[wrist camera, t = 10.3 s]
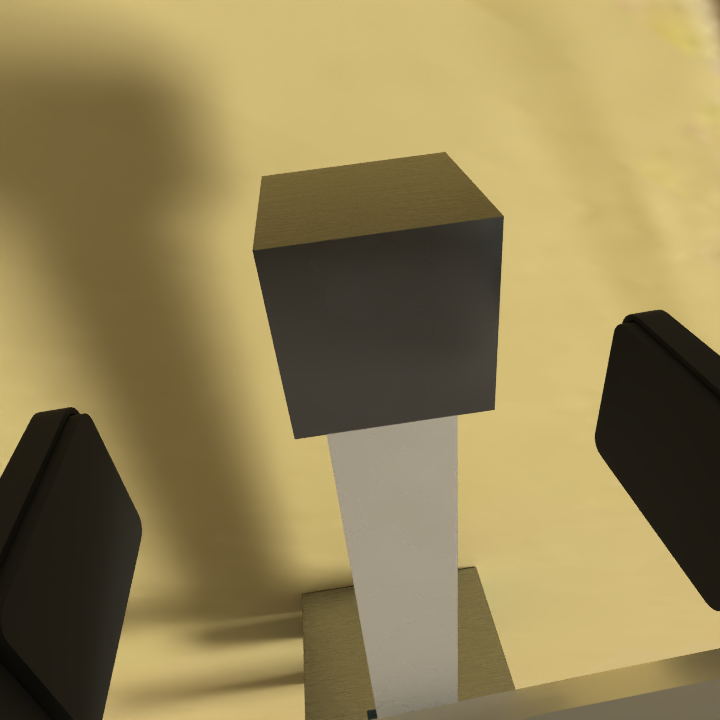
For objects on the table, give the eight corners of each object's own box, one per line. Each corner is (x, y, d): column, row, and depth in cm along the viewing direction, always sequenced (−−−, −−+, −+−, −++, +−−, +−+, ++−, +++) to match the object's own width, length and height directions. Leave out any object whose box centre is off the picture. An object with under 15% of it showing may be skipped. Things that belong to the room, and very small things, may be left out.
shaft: (262, 176, 15) (252, 250, 11) (445, 152, 15) (503, 216, 11) (367, 711, 33) (379, 817, 29) (452, 697, 33) (475, 800, 29)
